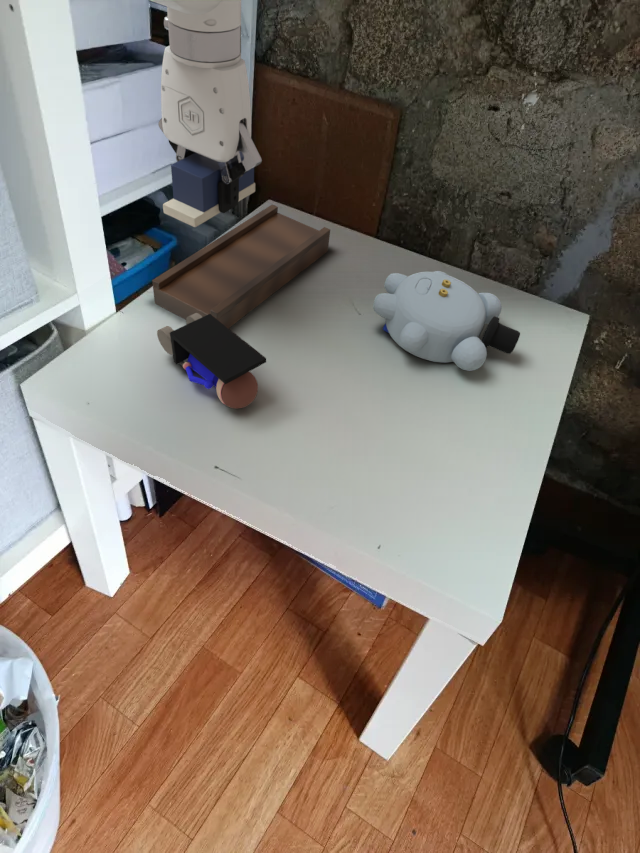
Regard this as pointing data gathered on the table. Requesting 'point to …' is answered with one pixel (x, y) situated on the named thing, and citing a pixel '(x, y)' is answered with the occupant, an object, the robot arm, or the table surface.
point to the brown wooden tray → (240, 268)
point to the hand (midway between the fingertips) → (210, 199)
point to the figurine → (443, 319)
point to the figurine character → (214, 358)
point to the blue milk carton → (200, 189)
